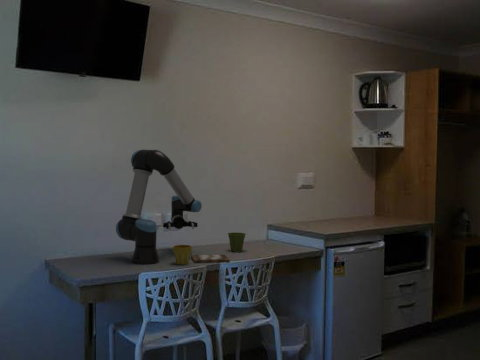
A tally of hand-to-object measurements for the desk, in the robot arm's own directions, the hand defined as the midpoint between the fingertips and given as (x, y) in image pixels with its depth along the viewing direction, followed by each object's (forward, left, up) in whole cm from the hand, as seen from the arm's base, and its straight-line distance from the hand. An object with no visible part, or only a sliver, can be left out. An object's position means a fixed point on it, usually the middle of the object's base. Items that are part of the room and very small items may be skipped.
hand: (181, 227), depth 295 cm
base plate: (+17, -3, -19) cm, 25 cm away
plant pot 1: (0, -11, -19) cm, 22 cm away
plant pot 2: (+38, +24, -19) cm, 48 cm away
